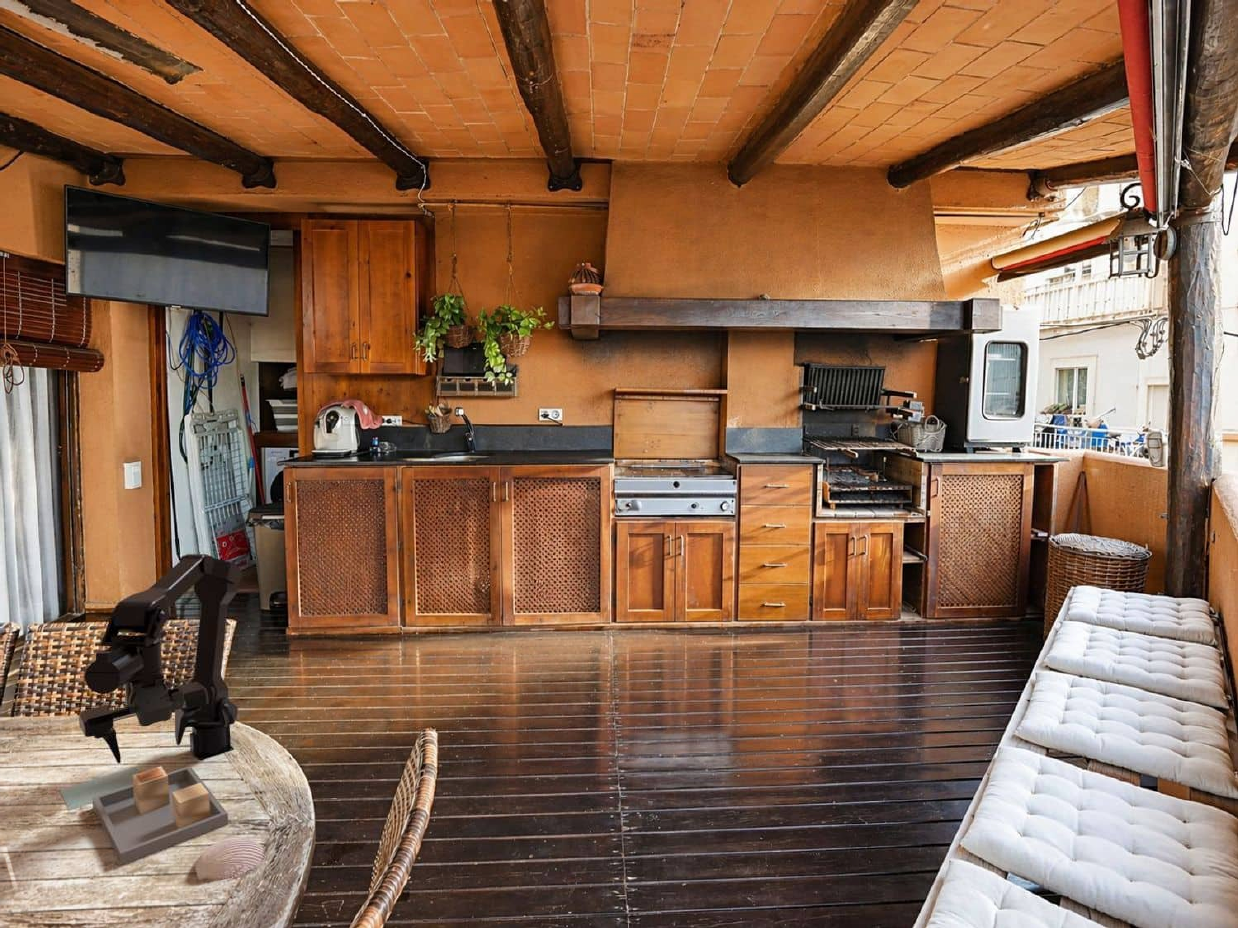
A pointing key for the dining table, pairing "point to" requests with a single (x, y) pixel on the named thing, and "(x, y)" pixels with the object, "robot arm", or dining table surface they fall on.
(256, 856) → the seashell
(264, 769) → the dining table surface
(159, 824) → the parts bin
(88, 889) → the dining table surface
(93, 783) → the mat
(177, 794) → the plain block
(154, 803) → the labelled block
